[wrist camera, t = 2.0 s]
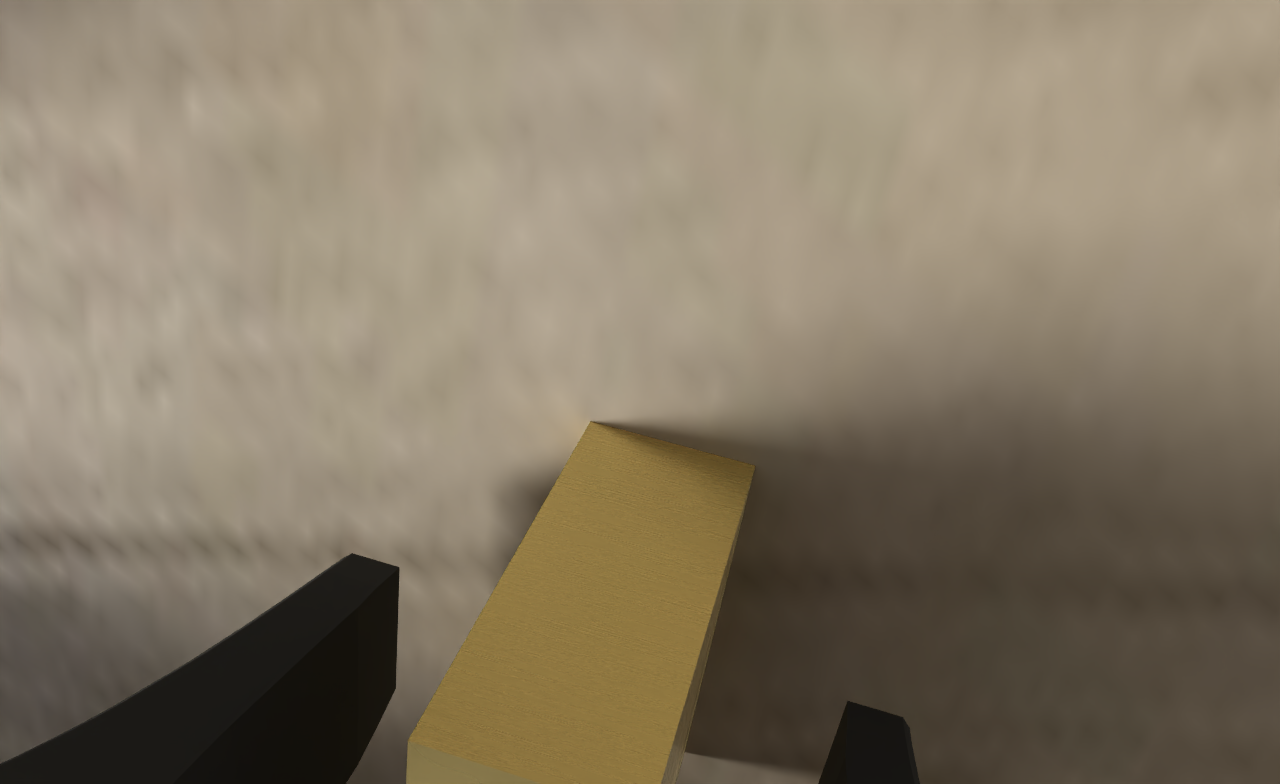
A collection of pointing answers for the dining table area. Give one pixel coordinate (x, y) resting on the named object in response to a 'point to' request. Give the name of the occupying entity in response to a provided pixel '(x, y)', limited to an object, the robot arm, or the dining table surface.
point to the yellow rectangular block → (594, 625)
